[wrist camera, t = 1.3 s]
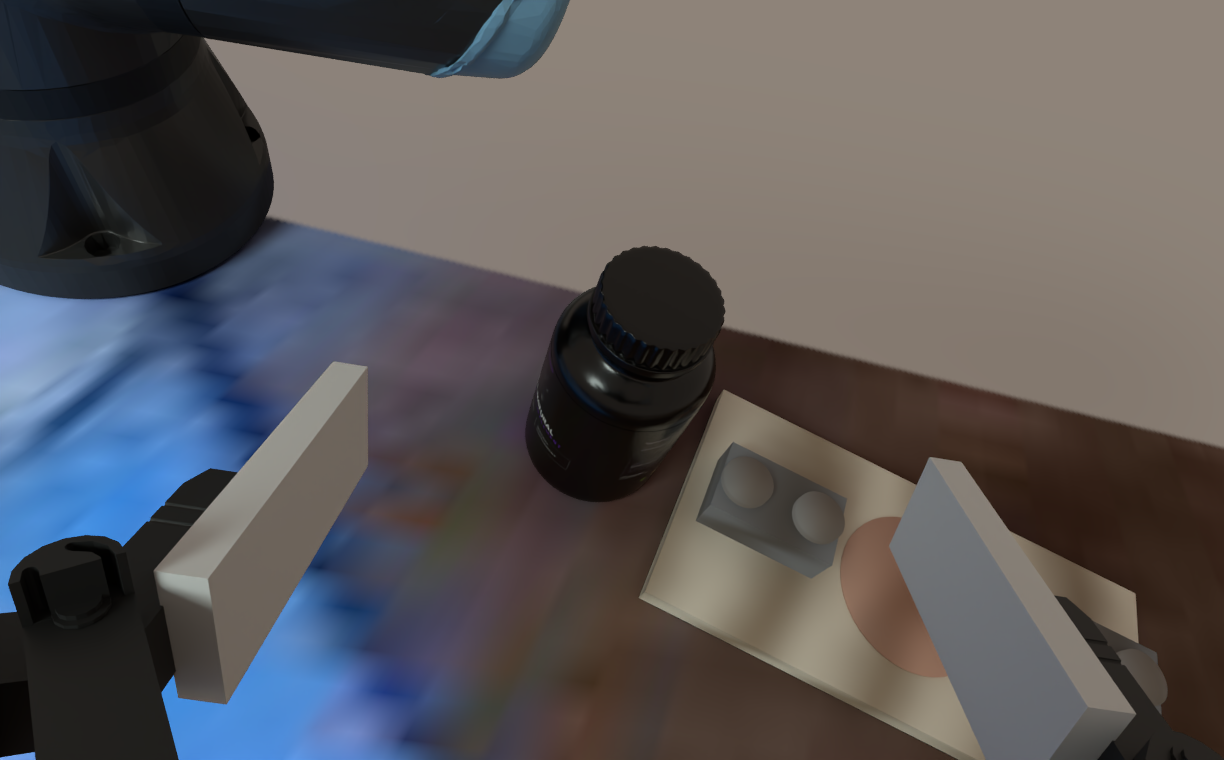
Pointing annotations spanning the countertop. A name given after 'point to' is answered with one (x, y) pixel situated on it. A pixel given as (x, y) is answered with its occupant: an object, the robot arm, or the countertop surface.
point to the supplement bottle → (624, 374)
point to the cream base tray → (834, 575)
